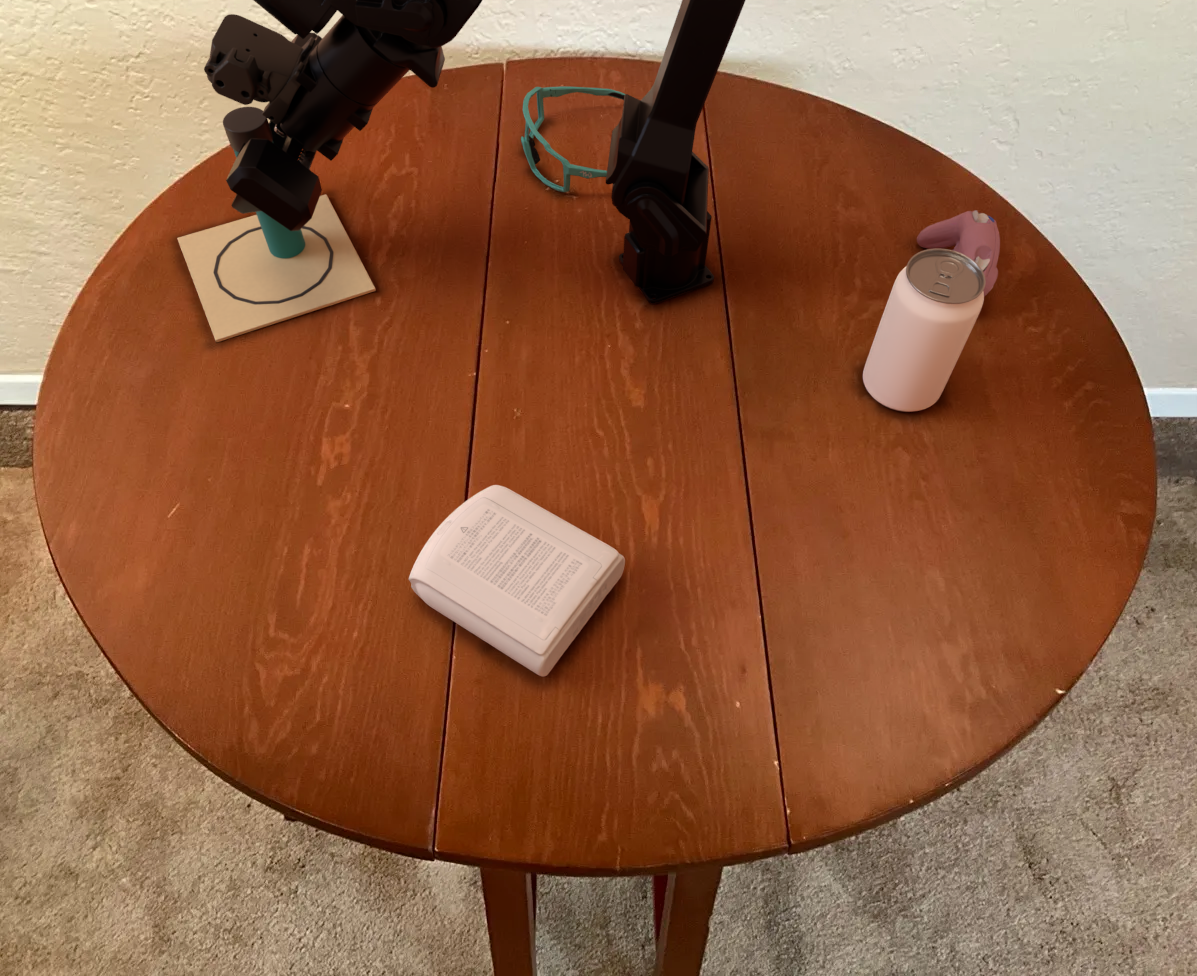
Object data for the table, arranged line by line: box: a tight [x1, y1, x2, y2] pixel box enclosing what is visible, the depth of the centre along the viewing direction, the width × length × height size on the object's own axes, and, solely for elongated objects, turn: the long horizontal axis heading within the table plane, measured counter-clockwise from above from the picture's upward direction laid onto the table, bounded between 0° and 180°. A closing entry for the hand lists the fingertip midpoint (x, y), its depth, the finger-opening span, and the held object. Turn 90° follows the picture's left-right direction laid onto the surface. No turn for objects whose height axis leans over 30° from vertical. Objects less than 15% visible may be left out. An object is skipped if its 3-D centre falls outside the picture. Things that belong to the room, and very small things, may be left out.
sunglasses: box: [520, 85, 626, 193], centre depth 94 cm, size 14×15×5 cm
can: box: [862, 248, 986, 413], centre depth 74 cm, size 6×6×12 cm
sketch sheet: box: [176, 193, 377, 343], centre depth 86 cm, size 14×14×1 cm
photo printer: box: [408, 484, 626, 677], centre depth 66 cm, size 10×4×12 cm
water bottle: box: [222, 106, 305, 258], centre depth 82 cm, size 3×3×13 cm
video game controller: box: [916, 209, 1001, 297], centre depth 84 cm, size 10×5×7 cm, turn 168°
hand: (248, 183), depth 82 cm, fingers open, 6 cm apart
